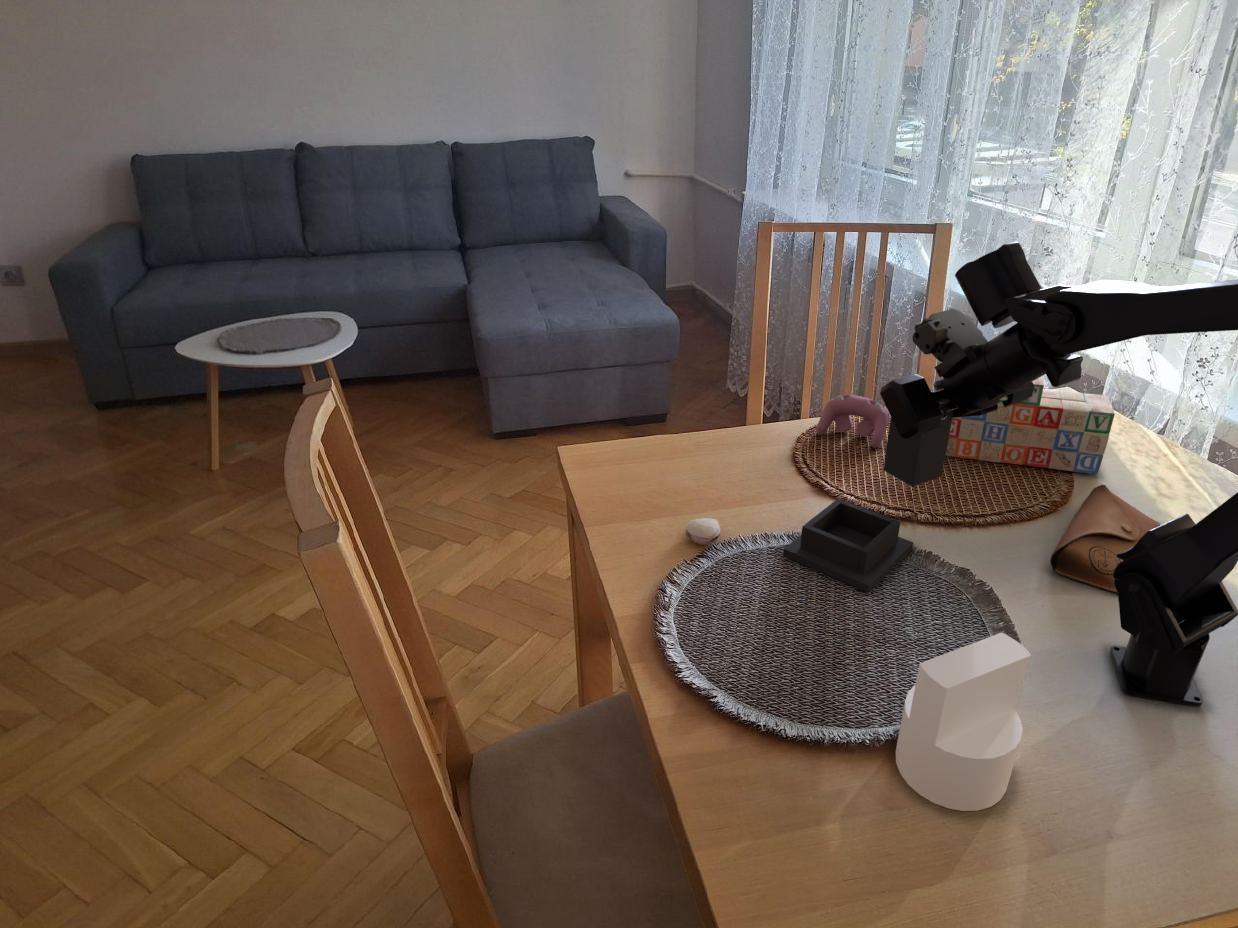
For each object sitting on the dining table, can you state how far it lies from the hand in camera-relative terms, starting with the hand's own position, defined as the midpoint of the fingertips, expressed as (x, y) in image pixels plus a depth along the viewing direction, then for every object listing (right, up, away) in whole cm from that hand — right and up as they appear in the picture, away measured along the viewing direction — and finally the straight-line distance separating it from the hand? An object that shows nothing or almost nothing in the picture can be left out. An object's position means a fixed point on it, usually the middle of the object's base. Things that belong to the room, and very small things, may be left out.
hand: (911, 420), depth 98 cm
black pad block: (+1, -6, +2) cm, 7 cm away
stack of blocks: (+21, -4, +20) cm, 29 cm away
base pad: (-8, -16, 0) cm, 17 cm away
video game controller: (0, -1, +26) cm, 26 cm away
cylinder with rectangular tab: (-6, -31, -28) cm, 42 cm away
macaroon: (-24, -14, +4) cm, 28 cm away
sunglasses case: (+23, -15, -1) cm, 27 cm away
